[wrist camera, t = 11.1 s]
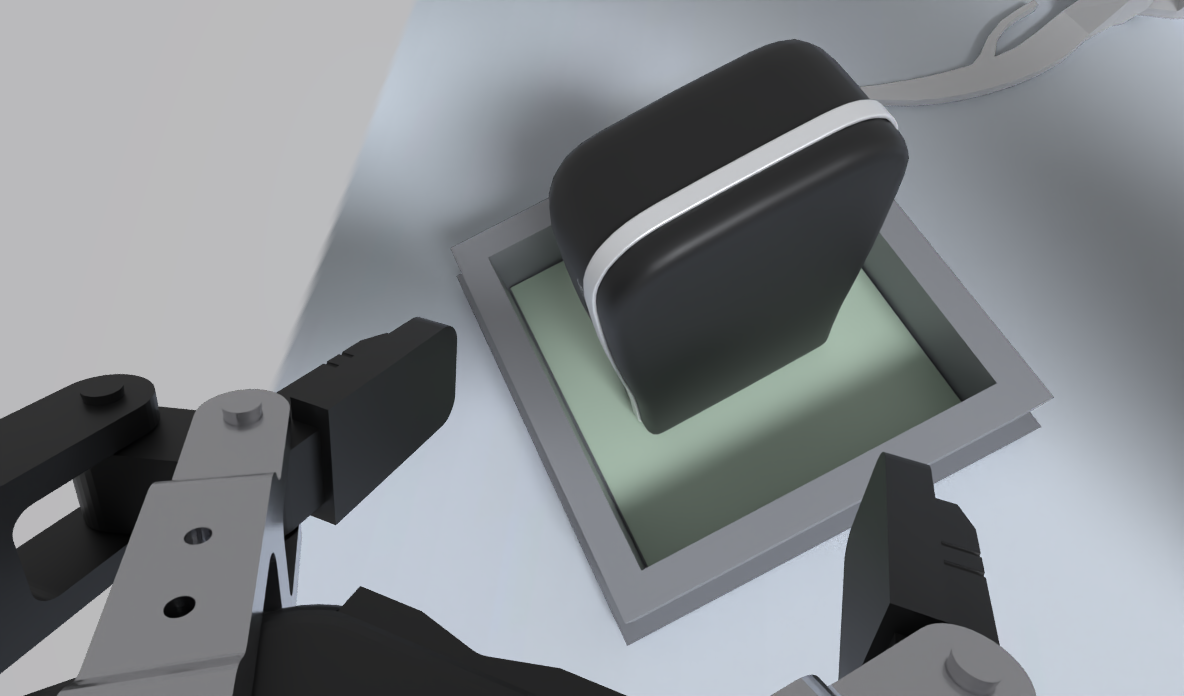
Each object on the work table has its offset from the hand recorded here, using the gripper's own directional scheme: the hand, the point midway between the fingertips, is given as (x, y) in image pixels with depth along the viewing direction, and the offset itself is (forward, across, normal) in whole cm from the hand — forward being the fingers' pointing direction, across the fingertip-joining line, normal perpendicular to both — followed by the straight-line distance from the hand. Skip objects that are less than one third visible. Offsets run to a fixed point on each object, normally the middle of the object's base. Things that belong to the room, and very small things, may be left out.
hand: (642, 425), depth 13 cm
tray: (+11, 0, +4) cm, 12 cm away
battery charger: (+11, 0, +3) cm, 11 cm away
